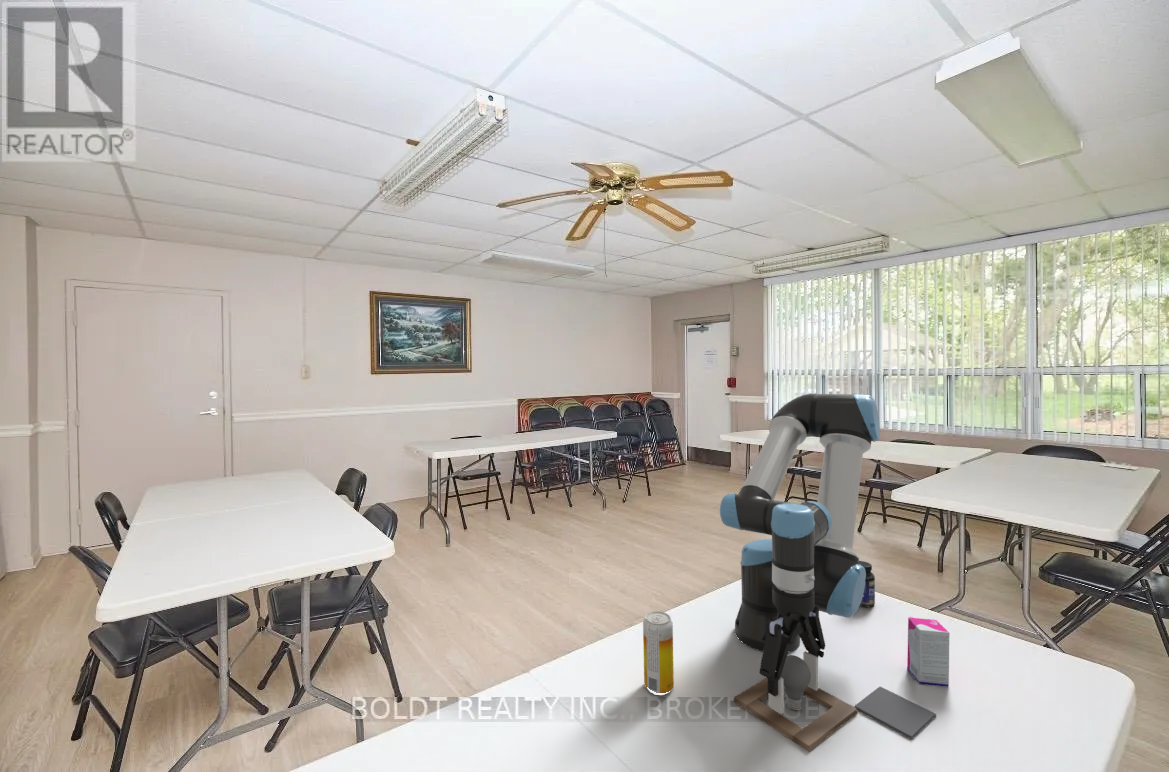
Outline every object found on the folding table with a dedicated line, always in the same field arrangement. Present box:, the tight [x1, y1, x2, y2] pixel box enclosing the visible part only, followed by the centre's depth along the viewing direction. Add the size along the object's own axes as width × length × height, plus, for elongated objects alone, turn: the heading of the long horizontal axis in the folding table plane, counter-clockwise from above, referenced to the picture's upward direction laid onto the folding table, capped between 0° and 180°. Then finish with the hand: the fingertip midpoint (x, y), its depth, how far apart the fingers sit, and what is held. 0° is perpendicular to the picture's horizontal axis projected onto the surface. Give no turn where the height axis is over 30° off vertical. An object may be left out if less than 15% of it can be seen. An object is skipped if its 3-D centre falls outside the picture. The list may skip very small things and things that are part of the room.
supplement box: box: [906, 616, 951, 688], centre depth 106 cm, size 6×6×12 cm
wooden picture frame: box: [733, 677, 858, 752], centre depth 97 cm, size 16×16×1 cm
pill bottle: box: [859, 560, 876, 608], centre depth 139 cm, size 6×6×11 cm
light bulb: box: [781, 654, 811, 711], centre depth 97 cm, size 6×6×10 cm
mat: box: [854, 686, 937, 740], centre depth 95 cm, size 10×10×1 cm
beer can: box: [642, 610, 675, 693], centre depth 104 cm, size 6×6×15 cm
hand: (794, 697), depth 97 cm, fingers open, 11 cm apart
